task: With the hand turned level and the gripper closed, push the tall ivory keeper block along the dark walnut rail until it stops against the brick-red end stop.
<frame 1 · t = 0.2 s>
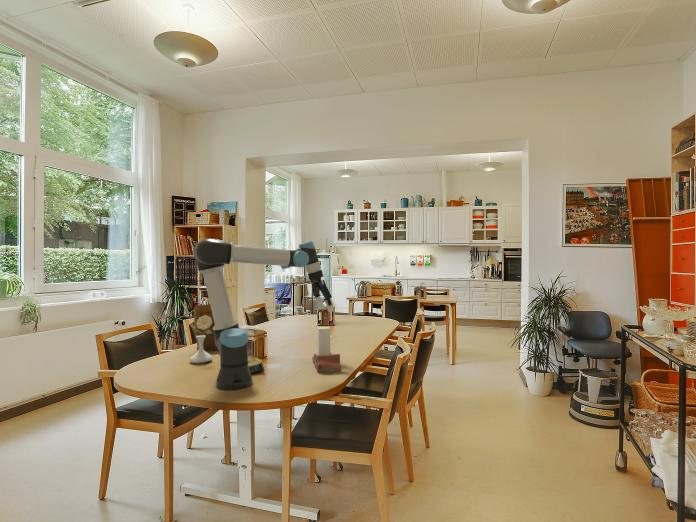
hand: (326, 310, 210), 28 cm above the table, tool tilted 15°, fingers open, 13 cm apart
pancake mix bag: (211, 350, 245), on the table
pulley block: (248, 368, 205), on the table
flower in vase: (202, 362, 217), on the table
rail: (325, 365, 207), on the table
keeper: (323, 343, 213), point 10 cm above the table, slide at 0.0 cm
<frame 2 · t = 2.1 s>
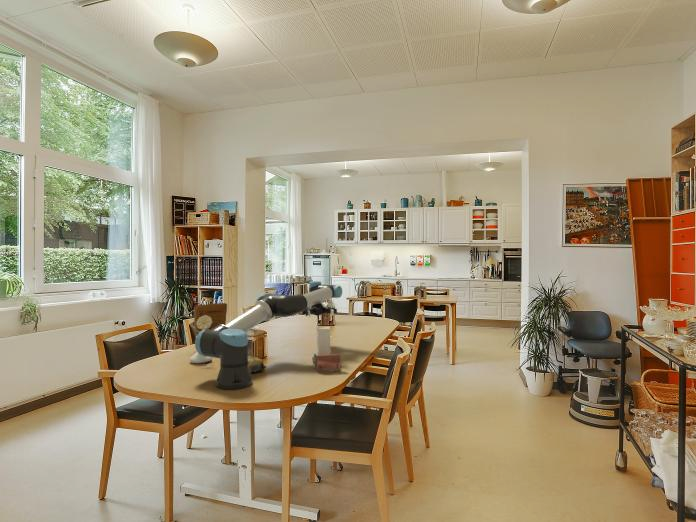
hand: (321, 313, 222), 24 cm above the table, tool horizontal, fingers open, 12 cm apart
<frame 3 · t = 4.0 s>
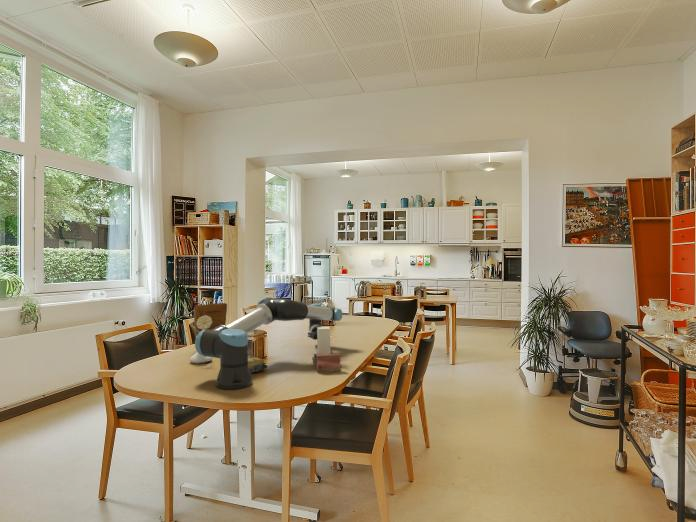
hand: (322, 339, 220), 10 cm above the table, tool horizontal, fingers closed
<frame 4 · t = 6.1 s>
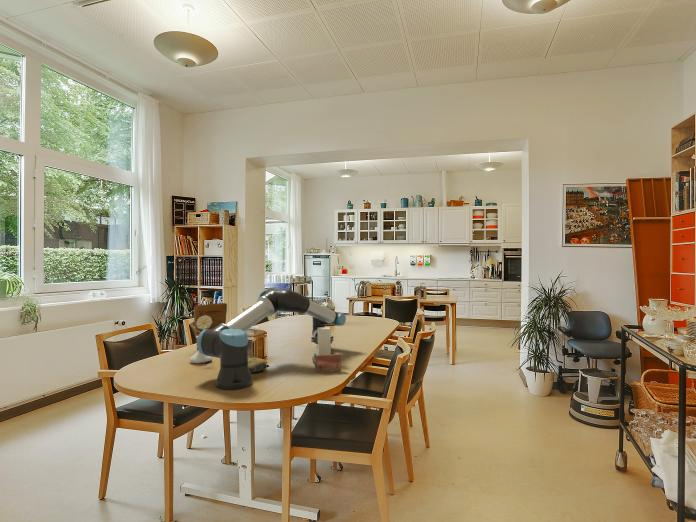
hand: (326, 345, 215), 9 cm above the table, tool horizontal, fingers closed
keeper: (324, 343, 212), point 10 cm above the table, slide at 1.1 cm, touching gripper
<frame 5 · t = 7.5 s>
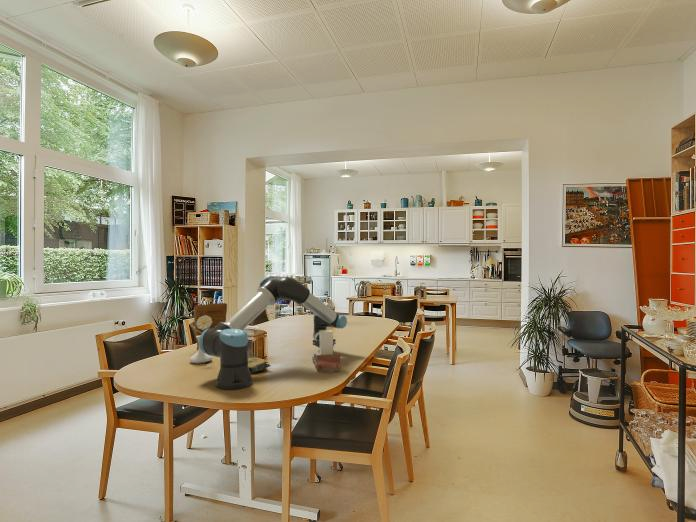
hand: (328, 348, 207), 9 cm above the table, tool horizontal, fingers closed
keeper: (326, 347, 203), point 10 cm above the table, slide at 9.5 cm, touching gripper
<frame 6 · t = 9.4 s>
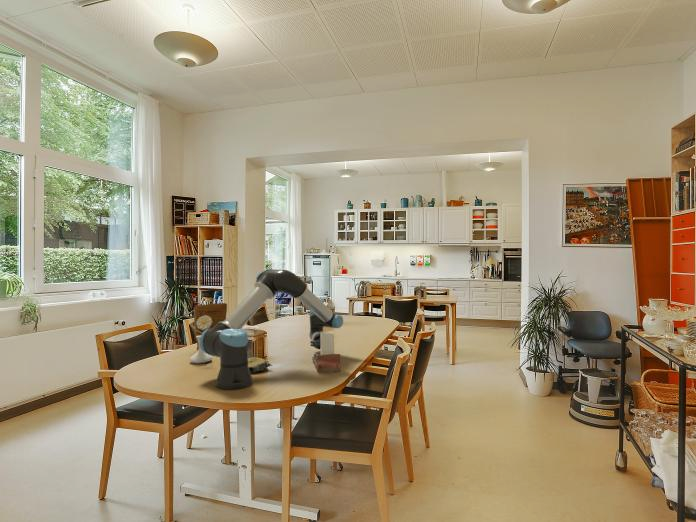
hand: (327, 349, 203), 9 cm above the table, tool horizontal, fingers closed
keeper: (327, 348, 200), point 10 cm above the table, slide at 13.0 cm, touching gripper, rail
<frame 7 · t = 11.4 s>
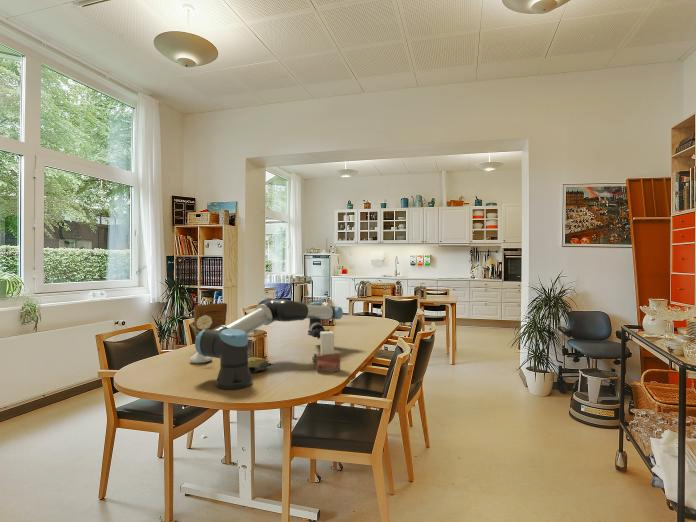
hand: (322, 337, 220), 12 cm above the table, tool horizontal, fingers closed
keeper: (327, 348, 200), point 10 cm above the table, slide at 12.9 cm
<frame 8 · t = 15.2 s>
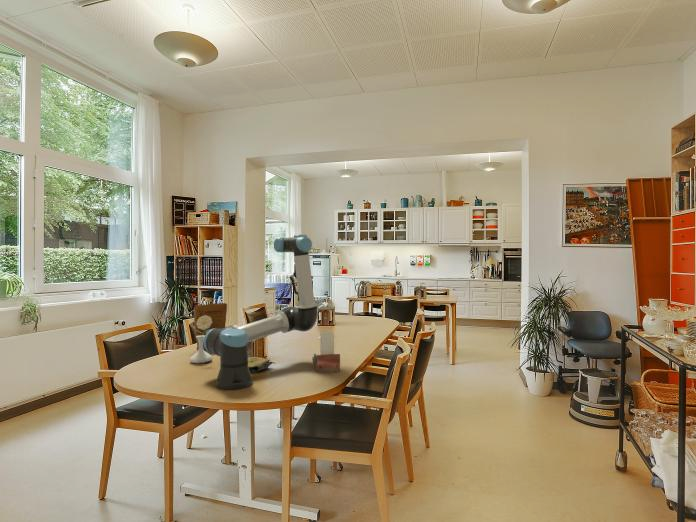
hand: (301, 307, 219), 28 cm above the table, tool pointing down, fingers closed
at the end: keeper slide at 12.9 cm; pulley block moved 1.9 cm from its start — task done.
